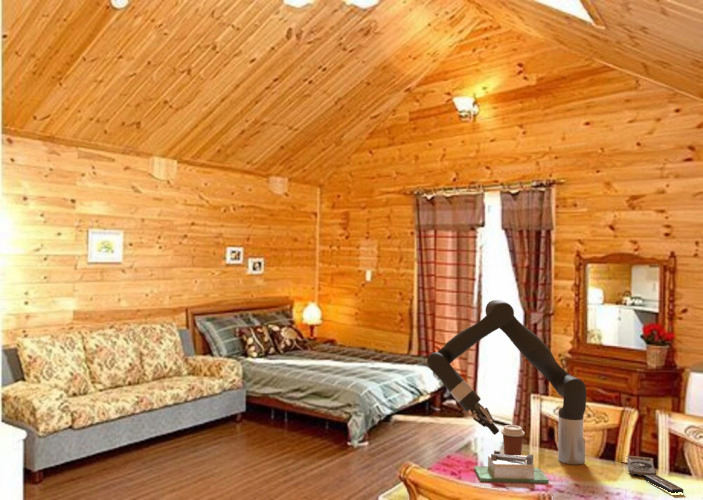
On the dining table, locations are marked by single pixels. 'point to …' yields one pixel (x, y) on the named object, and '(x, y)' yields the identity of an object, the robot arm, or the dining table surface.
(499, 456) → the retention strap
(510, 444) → the coffee cup
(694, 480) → the dining table surface
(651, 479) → the multiport hub
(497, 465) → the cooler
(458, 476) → the dining table surface
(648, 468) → the graphics card
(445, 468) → the dining table surface
